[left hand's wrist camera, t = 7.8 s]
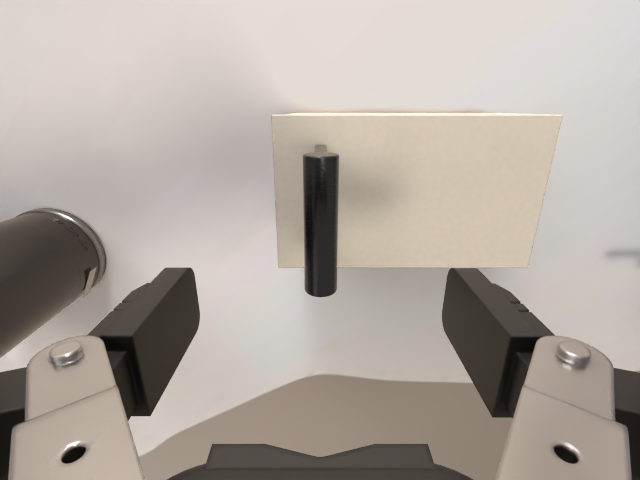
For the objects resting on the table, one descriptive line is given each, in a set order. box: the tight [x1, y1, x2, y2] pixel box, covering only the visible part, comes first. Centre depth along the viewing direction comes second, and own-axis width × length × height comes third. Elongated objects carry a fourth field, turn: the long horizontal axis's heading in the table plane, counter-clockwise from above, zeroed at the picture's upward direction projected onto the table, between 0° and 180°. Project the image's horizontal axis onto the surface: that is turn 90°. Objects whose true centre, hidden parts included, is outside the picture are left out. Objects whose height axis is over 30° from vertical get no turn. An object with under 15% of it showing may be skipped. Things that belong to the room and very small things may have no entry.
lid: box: [272, 115, 562, 297], centre depth 20 cm, size 18×10×8 cm, turn 90°
